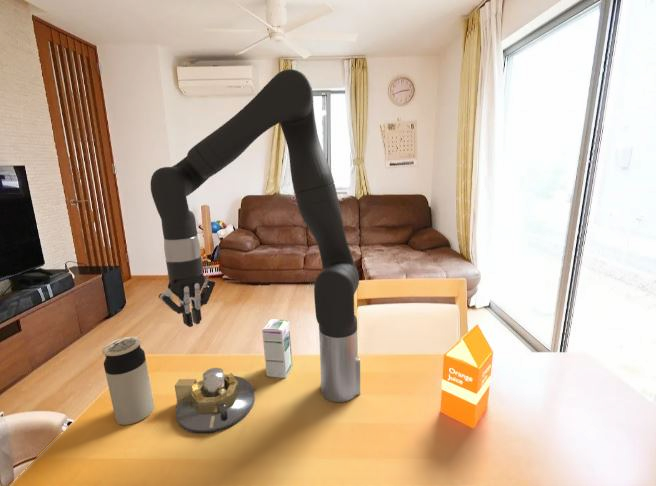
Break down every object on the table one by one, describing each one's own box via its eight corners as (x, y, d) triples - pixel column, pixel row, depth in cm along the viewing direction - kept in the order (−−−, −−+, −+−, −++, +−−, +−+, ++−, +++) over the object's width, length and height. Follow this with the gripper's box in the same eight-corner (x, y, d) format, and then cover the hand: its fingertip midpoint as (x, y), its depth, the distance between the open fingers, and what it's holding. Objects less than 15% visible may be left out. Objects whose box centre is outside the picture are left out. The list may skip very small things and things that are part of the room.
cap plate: (253, 375, 91) (251, 347, 89) (255, 424, 74) (252, 391, 72) (183, 387, 87) (179, 358, 85) (168, 442, 70) (162, 407, 68)
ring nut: (242, 384, 85) (240, 369, 84) (230, 413, 75) (228, 396, 74) (188, 384, 86) (186, 369, 84) (169, 413, 76) (166, 396, 75)
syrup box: (286, 378, 90) (283, 329, 86) (265, 376, 91) (261, 328, 87) (292, 366, 95) (290, 319, 91) (273, 364, 96) (269, 318, 93)
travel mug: (161, 406, 81) (150, 339, 76) (130, 430, 74) (116, 358, 69) (139, 397, 84) (127, 333, 80) (108, 419, 77) (92, 350, 73)
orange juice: (488, 406, 78) (496, 328, 73) (474, 429, 71) (481, 345, 67) (455, 391, 83) (460, 318, 78) (439, 411, 77) (444, 332, 72)
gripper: (202, 247, 84) (210, 310, 88) (145, 259, 74) (157, 330, 78) (218, 251, 79) (226, 318, 83) (160, 266, 69) (172, 341, 73)
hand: (193, 324), depth 81 cm, fingers closed
